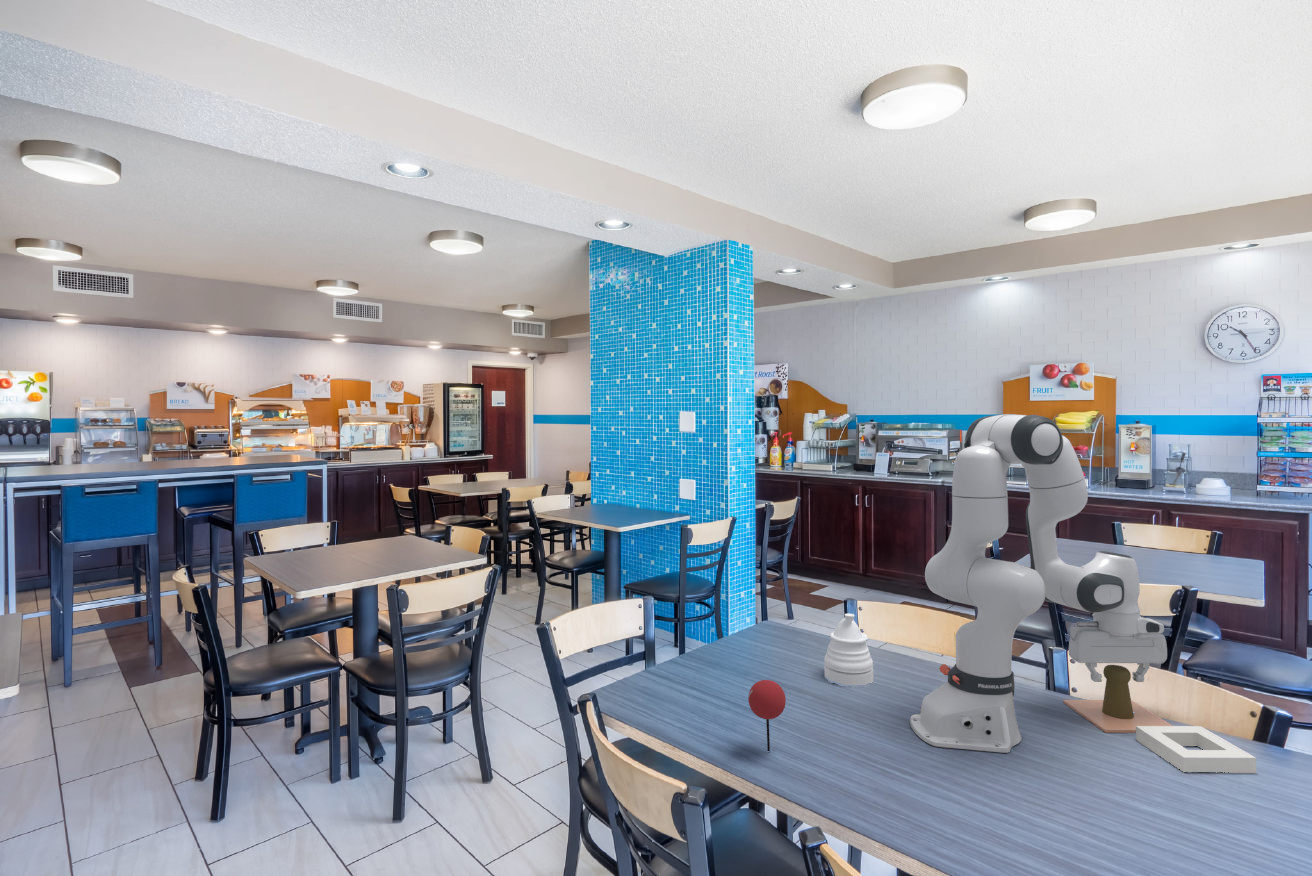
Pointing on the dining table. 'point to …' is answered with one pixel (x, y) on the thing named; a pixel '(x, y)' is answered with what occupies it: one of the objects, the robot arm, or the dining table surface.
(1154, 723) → the terracotta tile
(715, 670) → the dining table surface
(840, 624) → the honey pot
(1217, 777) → the dining table surface
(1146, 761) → the dining table surface
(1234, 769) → the frame
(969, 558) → the robot arm
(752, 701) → the lollipop
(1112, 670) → the olive pawn
